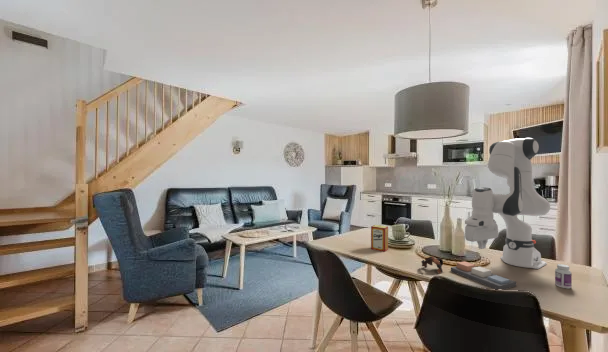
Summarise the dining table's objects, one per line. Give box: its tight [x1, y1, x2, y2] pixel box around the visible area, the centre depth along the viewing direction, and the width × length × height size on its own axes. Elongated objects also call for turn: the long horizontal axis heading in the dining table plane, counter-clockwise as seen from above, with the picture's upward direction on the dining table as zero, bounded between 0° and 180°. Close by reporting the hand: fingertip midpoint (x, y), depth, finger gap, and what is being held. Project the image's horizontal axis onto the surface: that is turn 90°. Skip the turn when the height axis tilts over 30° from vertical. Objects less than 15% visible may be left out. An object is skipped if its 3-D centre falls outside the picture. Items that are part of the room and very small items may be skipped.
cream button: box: [472, 266, 492, 278], centre depth 127 cm, size 6×6×3 cm
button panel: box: [450, 265, 517, 290], centre depth 127 cm, size 12×24×2 cm, turn 22°
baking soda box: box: [370, 224, 389, 252], centre depth 175 cm, size 10×6×16 cm
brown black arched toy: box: [420, 256, 444, 274], centre depth 138 cm, size 12×10×8 cm
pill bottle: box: [554, 263, 573, 289], centre depth 118 cm, size 5×5×10 cm
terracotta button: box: [456, 260, 476, 272], centre depth 135 cm, size 6×6×3 cm
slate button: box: [488, 274, 509, 284], centre depth 120 cm, size 6×6×3 cm
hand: (482, 248), depth 127 cm, fingers closed
